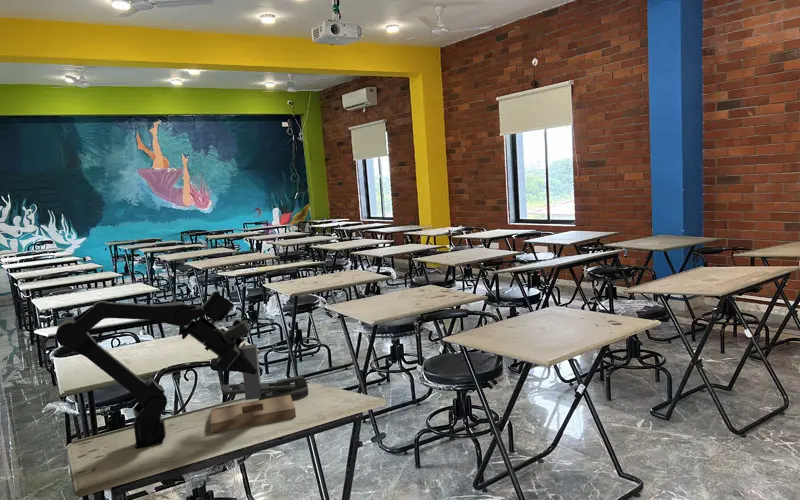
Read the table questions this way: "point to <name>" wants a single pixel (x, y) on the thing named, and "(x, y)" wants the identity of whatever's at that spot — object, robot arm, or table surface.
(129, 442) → the table surface
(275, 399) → the post foot
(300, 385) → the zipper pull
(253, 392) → the dark grey square post
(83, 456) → the table surface
